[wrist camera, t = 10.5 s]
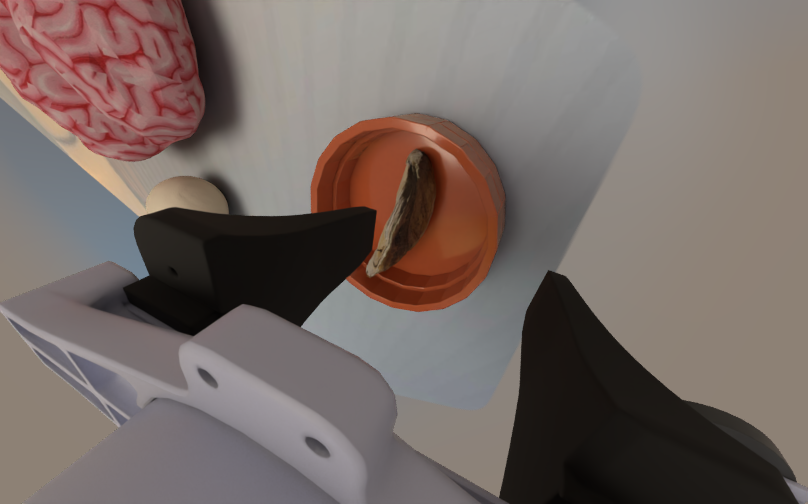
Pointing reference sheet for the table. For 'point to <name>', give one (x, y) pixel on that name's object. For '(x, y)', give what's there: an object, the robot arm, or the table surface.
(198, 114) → the brain
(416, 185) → the oyster shell
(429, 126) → the bowl
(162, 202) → the cream ball
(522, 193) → the table surface
